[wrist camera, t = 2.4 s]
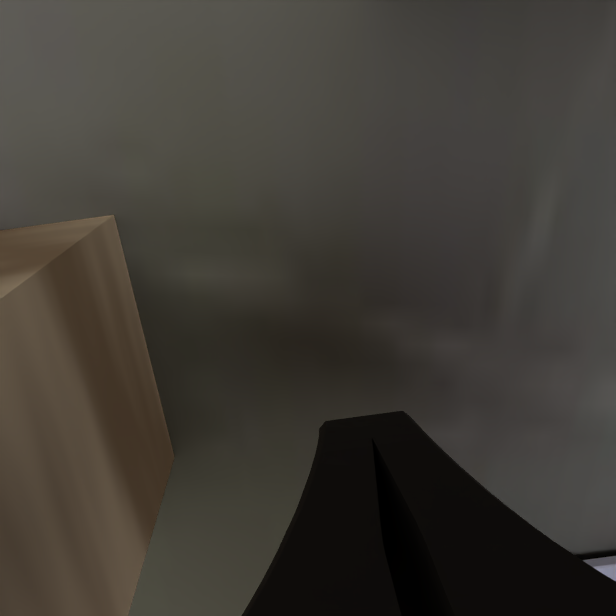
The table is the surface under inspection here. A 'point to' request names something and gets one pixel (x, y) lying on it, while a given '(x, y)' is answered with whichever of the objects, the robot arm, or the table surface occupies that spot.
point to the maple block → (74, 424)
